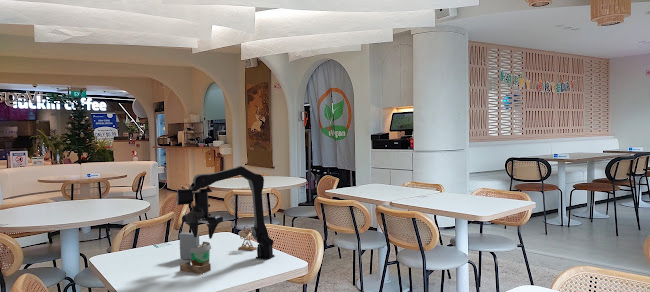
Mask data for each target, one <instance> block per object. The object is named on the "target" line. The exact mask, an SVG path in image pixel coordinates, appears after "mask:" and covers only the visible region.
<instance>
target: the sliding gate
mask: <svg viewBox="0 0 650 292" xmlns="http://www.w3.org/2000/svg"><path fill="white" fill-rule="evenodd" d="M178 237H179V255H180V257H179V258H180V259H183V260H188V261H192V257H191V253H190V250H191V248H195V247H196V246H198V245H201V244H200V234H199V233H197V237H196V238H195V237H194V235H193V232H180V233H179V234H178Z"/></svg>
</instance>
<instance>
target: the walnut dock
mask: <svg viewBox="0 0 650 292" xmlns="http://www.w3.org/2000/svg"><path fill="white" fill-rule="evenodd" d="M211 268H212V267H211V263H210V262H209V263H208V264H206V265H203V266H195V265H192V261H191V260H188V261H186V262H185V261H184V262H182V263H180V264H179V271H180V272H181V271H182V272H183V273H190V274H197V275H204V274H206V273H208V272H211ZM203 273H204V274H203Z"/></svg>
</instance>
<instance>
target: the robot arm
mask: <svg viewBox="0 0 650 292" xmlns="http://www.w3.org/2000/svg"><path fill="white" fill-rule="evenodd" d="M238 176H241V177H242V178H244V179H245V180H247V182H248V186H249V188H250V191H251V194H252V205H253V206H252V207H253V217H254V223H253V226H251V227H250V230H251V232H252V233H250V236H251V235H252V236H251V237H252V239H253V240H255V241H256V242H257V247H256V248H257V249H256V251H257V252H256V254H257V256H256V257H255V258H256V259H259V260H269V259H272V258H274V257H275V256H276V255H275V254H274V253H273V252H274V250H273V245H274V239H272V238H271V237H270V236H269V232H268V228H267V226H266V223H265V218H264V203H263V189H264V186H265V185H264V184H265V178H264V176H263V175H262V174H260V173H255V172H253V171H251V170H249V169H247V168H246V167H245V166H243V165H238V166H235V167H232V168H228V169H224V170H222V171H217V172H213V173H212V172H211V173H210V172H209V173H198V174H195V175H194V176H193V179H192V183H191V184H190V185H189V187H188V188H185V189H184V188H178V189H177V190H176V197H175V198H176V204H177V206H183V205H184V206H185V205H191V204H192V203H193V202H194V205H193V206H192V210H190V211H189V212H188V213H186V214H182V217H181V222H182V223H184V224H186V225H188V227H189V228H190V231H191V233H193V235H194V237H195V238H196V237H197V234H199V233H198V231H199V230H198V229H199V221H201V222H207V223H206V226H207V227H208V239H210V240H211V239H212V238H213V236H214V234H215V231H216V229H217V227H218V224H220V223H223V222H224V217H223V216H222V215H221V214H217V215H216V214H214V215H211V213H210V212H209V208H210V207H211V204H209V193H212V192H213V190H212V189H211V188H210V187H209V186H211V185H212V184H214V183H216V182H220V181H223V180H227V179H230V178H235V177H238Z"/></svg>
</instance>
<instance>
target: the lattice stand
mask: <svg viewBox="0 0 650 292" xmlns="http://www.w3.org/2000/svg"><path fill="white" fill-rule="evenodd" d="M243 234H244V235H243ZM249 234H250V235H249ZM251 234H252V230H251V227H249V226H248V225H245V226H243V232H241V233H240V236H239V237H240V239H241V240H243V243H242V244H241V246H239V247H238V249H237V250H240V251H247V252H253V251H255V250H256V251H257V247H255V246H254V245H253V244H252V243H253V242H251V237H253V236H252V235H251ZM248 241H249V242H248Z"/></svg>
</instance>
